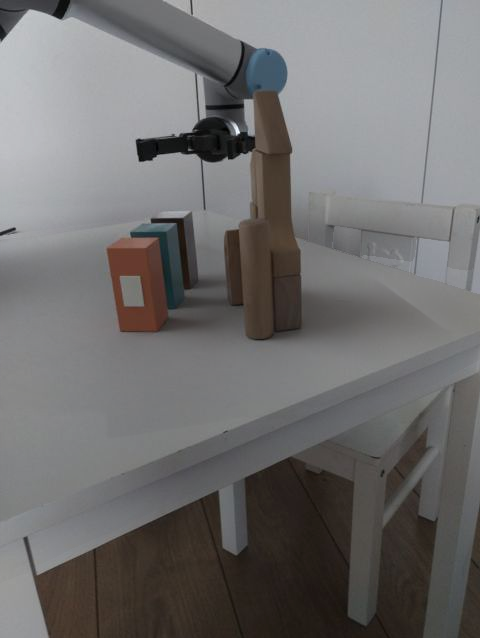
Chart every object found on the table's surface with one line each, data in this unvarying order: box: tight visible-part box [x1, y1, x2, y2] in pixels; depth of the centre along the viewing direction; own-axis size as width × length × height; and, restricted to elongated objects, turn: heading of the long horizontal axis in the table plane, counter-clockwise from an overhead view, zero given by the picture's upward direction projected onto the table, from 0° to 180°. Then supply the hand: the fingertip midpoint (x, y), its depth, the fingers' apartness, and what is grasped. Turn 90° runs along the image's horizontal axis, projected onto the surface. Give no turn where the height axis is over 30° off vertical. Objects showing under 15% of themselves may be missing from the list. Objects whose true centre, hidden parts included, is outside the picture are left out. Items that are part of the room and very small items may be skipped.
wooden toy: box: [223, 90, 303, 340], centre depth 65 cm, size 15×7×25 cm, turn 13°
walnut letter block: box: [150, 210, 199, 290], centre depth 80 cm, size 5×5×10 cm
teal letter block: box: [129, 222, 185, 310], centre depth 73 cm, size 5×5×10 cm
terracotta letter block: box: [106, 237, 169, 333], centre depth 67 cm, size 5×5×10 cm
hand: (184, 151), depth 84 cm, fingers open, 13 cm apart
